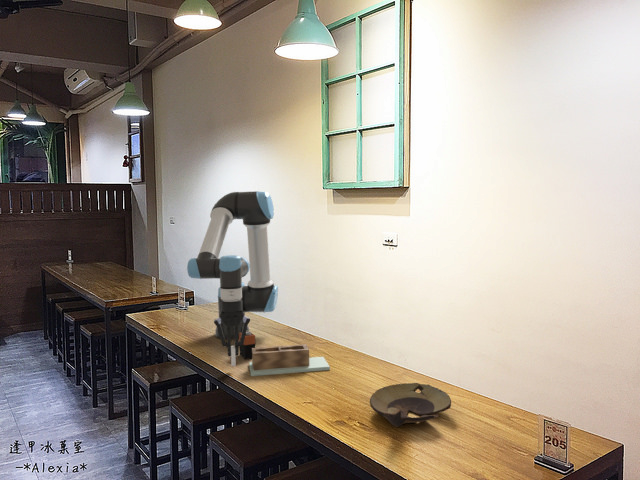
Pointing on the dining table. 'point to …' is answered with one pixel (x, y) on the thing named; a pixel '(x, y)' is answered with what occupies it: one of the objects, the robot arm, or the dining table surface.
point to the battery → (247, 345)
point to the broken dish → (409, 402)
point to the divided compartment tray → (280, 357)
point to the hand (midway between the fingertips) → (233, 364)
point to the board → (294, 368)
